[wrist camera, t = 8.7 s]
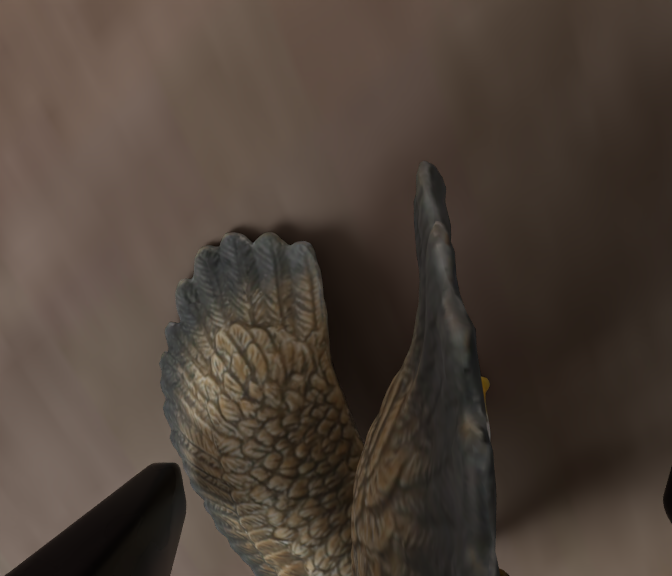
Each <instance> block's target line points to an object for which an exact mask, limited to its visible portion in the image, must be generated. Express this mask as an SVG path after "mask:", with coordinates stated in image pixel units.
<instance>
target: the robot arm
mask: <svg viewBox="0 0 672 576" xmlns="http://www.w3.org/2000/svg"><path fill="white" fill-rule="evenodd" d="M663 504H664V508H665V511H666V514H667V516H668V518H669V520H670V522H671V523H672V467H671V470H670V474H669V478H668V481H667V485H666V488H665V492H664V496H663ZM185 514H186V498H185V492H184V487H183V481H182V475H181V470H180V467H179V465H178V464H176V463H153V464H151V465H149V466H148V467H146V468H145V469H144V470H142V471H141V472H140V473H138V474H137V475H136V476H135V477H133V478H132V479H131V480H129V481H128V482H127V483H125V484H124V485H123V486H121V487H120V488H119V489H118V490H116V491H115V492H114V493H112V494H111V495H110V496H108V497H107V498H106V499H104V500H103V501H102V502H101V503H99V504H98V505H97V506H95V507H94V508H93V509H91V510H90V511H89V512H87V513H86V514H85V515H84V516H82V517H81V518H80V519H78V520H77V521H76V522H74V523H73V524H72V525H70V526H69V527H68V528H67V529H65V530H64V531H63V532H61V533H60V534H59V535H57V536H56V537H55V538H53V539H52V540H51V541H50V542H48V543H47V544H46V545H44V546H43V547H42V548H40V549H39V550H38V551H37V552H35V553H34V554H33V555H31V556H30V557H29V558H27V559H26V560H25V561H23V562H22V563H21V564H20V565H18V566H17V567H16V568H14V569H13V570H12V571H10V572H9V573H8V574H6V575H5V576H170V574H171V570H172V566H173V562H174V558H175V554H176V551H177V547H178V543H179V539H180V535H181V531H182V527H183V523H184V519H185Z"/></svg>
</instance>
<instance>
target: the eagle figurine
mask: <svg viewBox="0 0 672 576" xmlns="http://www.w3.org/2000/svg"><path fill="white" fill-rule="evenodd" d="M445 197H446V186H445V184H444V181H443V178H442V176H441V174H440V173H439V171H438V170H437V168H436V167H435V166H434V165H433V164H431V163H429V162H427V161H423V162H420V165H419V168H418V172H417V175H416V196H415V199H414V227H415V240H416V252H417V260H418V266H419V278H420V284H419V304H418V309H417V314H416V321H415V327H414V334H413V339H412V343H411V346H410V349H409V351H408V354H407V356H406V358H405V360H404V363H403V365H402V367H401V369H400V370H399V372H398V373H397V374H396V376H395V377H394V379H393V380H392V382H391V384H390V386H389V388H388V390H387V392H386V394H385V397H384V399H383V402H382V405H381V409H380V412H379V414H378V415H377V417H376V418H375V420H374V422H373V423H372V425H371V427H370V429H369V432H368V434H367V437H366V441H365V445H364V444H363V442H362V440H361V438H360V436H359V434H358V431H357V428H356V425H355V423H354V420H353V417H352V415H351V412H350V410H349V408H348V405H347V402H346V399H345V396H344V394H343V391H342V389H341V387H340V385H339V382H338V379H337V376H336V373H335V370H334V367H333V364H332V359H331V354H330V340H329V333H328V322H327V319H328V314H327V309H326V303H325V301H324V296H323V283H322V276H321V270H320V267H319V264H318V261H317V258H316V254H315V250H314V248H313V246H312V244H310V243H308V242H306V241H298V242H295V243H294V244H292V245H288V244H287V243H286V242H285V241H284V240H282V239H281V238H280V237H279V236H278V235H277V234H275V233H273V232H266V233H264V234H262V235H261V236H259V237H258V239H257V240H256V241H255V242H254V243H252V242H251V241H250V240H249V239H248V238H247V237H246V236H245V235H243V234H240V233H236V232H229V233H226V234H225V235H224V236H223V238H222V240H221V244H220V246H218V247H214V246H209V245H206V246H204V247H202V248H201V249H200V250H199V251H198V253H197V255H196V257H195V265H194V275H193V278H192V279H187V278H185V279H183V280H181V281H180V282H179V283H178V286H177V289H176V293H175V296H176V307H177V311H178V314H179V317H180V323H176V322H170V323H169V324H168V325H167V327H166V329H165V335H166V339H167V343H168V347H169V349H168V352H164V353H163V354H162V357H161V360H160V363H159V365H160V367H161V370H162V377H161V381H160V383H161V389H162V392H163V393H164V395H165V397H166V401H165V403H164V406H163V410H164V414H165V417H166V419H167V421H168V423H169V425H170V428H171V435H170V439H171V442H172V444H173V446H174V447H175V449H176V450H177V452H178V454H179V456H180V457H181V458H182V460H183V467H184V470H185V472H186V474H187V475H188V476H189V478H190V484H191V486H192V488H193V489H194V491H195V492H196V493H197V494H198V495H199V496H200V497H201V498H203V500H204V506H205V509H206V511H207V512H208V513H209V514H210V515H211V516H212V518H213V520H214V522H215V526H216V529H217V530H218V531H219V532H220V533H221V534H223V535H224V536H225V537H227V539H228V541H229V543H230V546H231V548H232V549H233V550H234V551H235V552H236V553H237V554H238V555H239V556H240V557H241V558H242V560H243V561H244V562H245V563H247V564H248V565H249V566H250V567H251V569H252V571H253V573H254V574H255V575H256V576H509V575H508V574H507V573H506V572H505V571H504V570H502V569H499V567H498V562H497V557H496V553H495V541H496V483H495V470H494V457H493V450H492V446H491V442H490V435H491V433H490V425H489V420H488V414H487V409H486V401H485V393H486V391H487V390H488V388H489V386H490V383H489V381H488V379H487V378H485V377H481V374H480V367H479V360H478V354H477V346H476V329H475V327H474V325H473V323H472V321H471V320H470V318H469V316H468V314H467V312H466V310H465V307H464V304H463V302H462V299H461V296H460V292H459V287H458V282H457V277H456V265H455V251H454V248H453V246H452V244H451V224H450V220H449V216H448V212H447V208H446V204H445Z"/></svg>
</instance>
